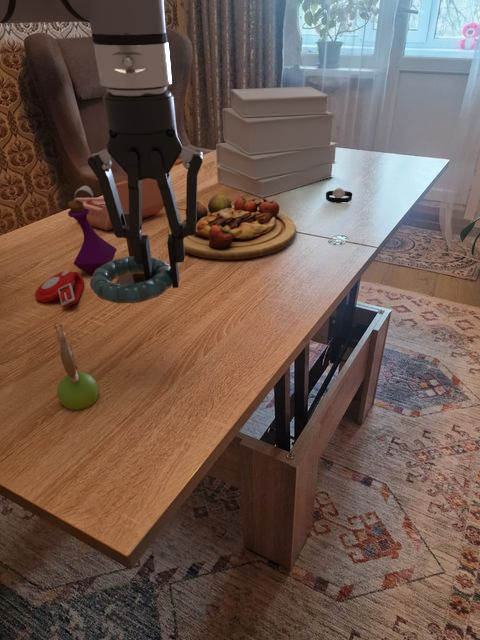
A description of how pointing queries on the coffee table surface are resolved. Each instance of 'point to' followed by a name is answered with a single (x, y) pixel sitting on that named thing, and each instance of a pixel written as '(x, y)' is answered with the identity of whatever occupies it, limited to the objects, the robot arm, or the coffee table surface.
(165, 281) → the ring
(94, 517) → the coffee table surface
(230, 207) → the wooden plate
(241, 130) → the book stack
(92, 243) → the perfume bottle
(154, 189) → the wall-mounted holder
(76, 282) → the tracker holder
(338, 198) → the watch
